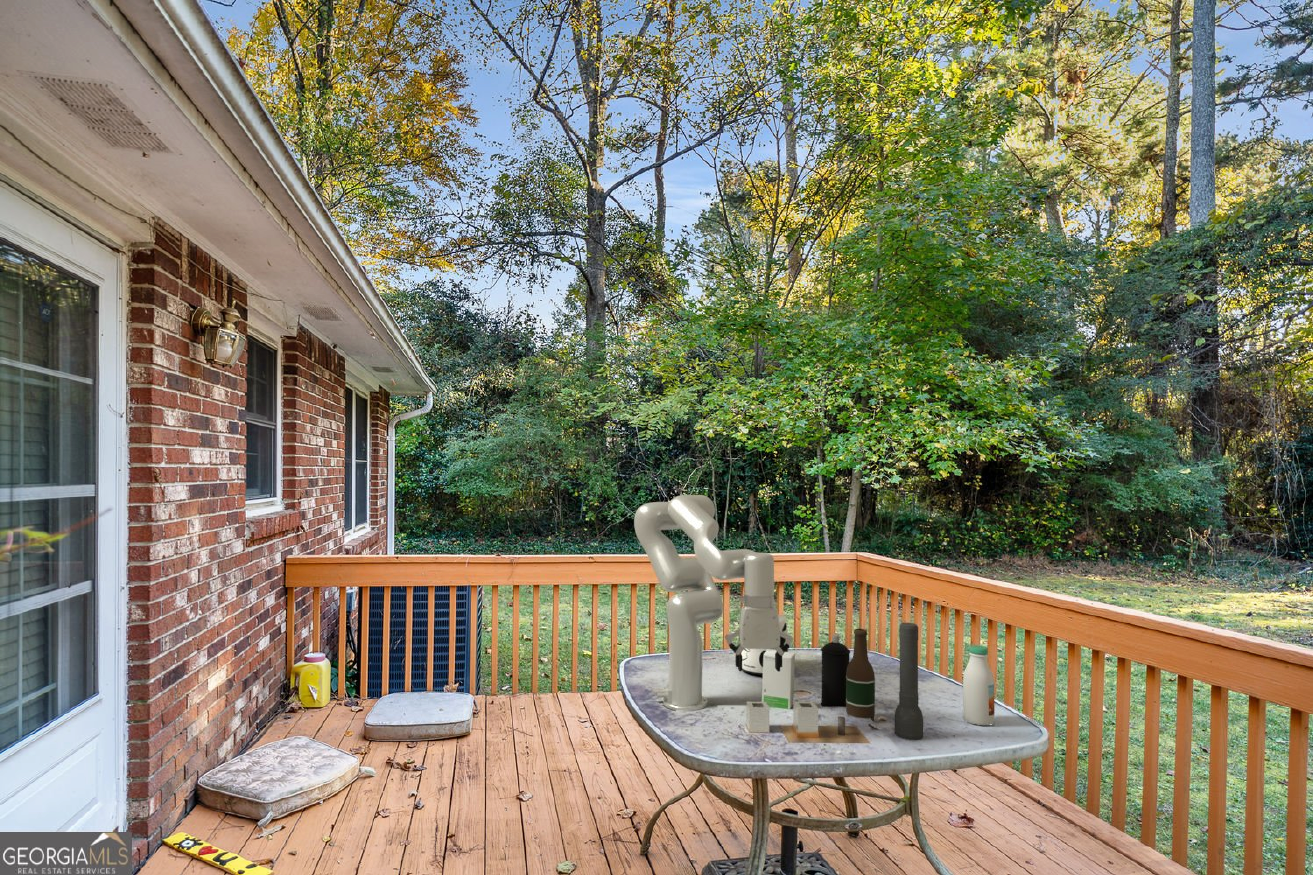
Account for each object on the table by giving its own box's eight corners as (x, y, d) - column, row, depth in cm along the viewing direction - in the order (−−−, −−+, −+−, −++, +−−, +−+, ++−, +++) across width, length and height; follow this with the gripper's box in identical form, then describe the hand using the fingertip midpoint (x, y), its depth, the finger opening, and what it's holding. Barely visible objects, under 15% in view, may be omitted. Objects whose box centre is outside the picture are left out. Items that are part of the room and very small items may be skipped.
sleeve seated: (797, 737, 168) (797, 708, 169) (792, 729, 173) (792, 701, 174) (818, 737, 168) (819, 708, 169) (813, 729, 174) (813, 701, 174)
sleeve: (748, 737, 171) (749, 708, 171) (745, 728, 176) (745, 701, 177) (769, 737, 171) (770, 708, 171) (766, 729, 176) (766, 701, 177)
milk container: (726, 670, 229) (726, 616, 230) (758, 661, 241) (759, 609, 242) (767, 682, 217) (767, 625, 217) (799, 672, 228) (800, 618, 229)
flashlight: (927, 734, 176) (900, 727, 180) (927, 624, 177) (900, 619, 182) (918, 742, 170) (890, 735, 175) (918, 628, 172) (890, 624, 176)
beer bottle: (870, 726, 181) (871, 634, 182) (841, 720, 185) (842, 630, 186) (878, 717, 187) (878, 628, 189) (850, 711, 192) (850, 624, 193)
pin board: (788, 748, 165) (788, 725, 165) (779, 731, 176) (779, 709, 176) (870, 749, 166) (870, 726, 166) (856, 731, 177) (856, 710, 177)
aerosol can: (851, 712, 191) (851, 639, 192) (820, 709, 193) (821, 637, 194) (849, 702, 199) (849, 632, 200) (819, 700, 201) (820, 631, 202)
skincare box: (761, 710, 191) (761, 654, 192) (765, 703, 197) (766, 648, 198) (791, 714, 188) (791, 657, 189) (794, 707, 194) (795, 651, 195)
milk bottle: (981, 728, 181) (981, 651, 182) (956, 718, 187) (956, 644, 188) (1000, 724, 184) (1000, 648, 185) (975, 714, 191) (975, 642, 192)
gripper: (727, 604, 171) (726, 673, 170) (796, 604, 172) (795, 674, 171) (723, 598, 179) (723, 665, 178) (789, 599, 179) (789, 665, 178)
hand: (758, 669), depth 174 cm, fingers open, 9 cm apart
